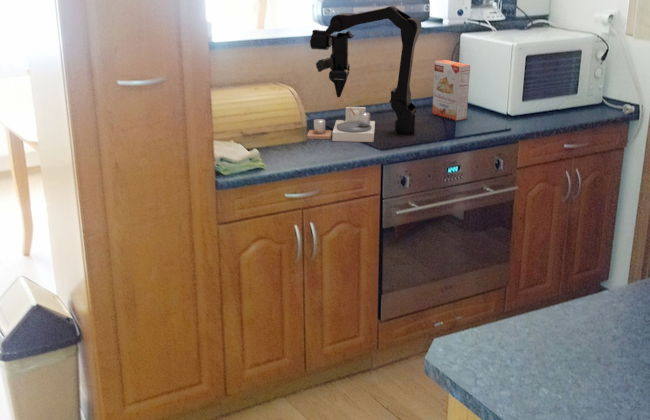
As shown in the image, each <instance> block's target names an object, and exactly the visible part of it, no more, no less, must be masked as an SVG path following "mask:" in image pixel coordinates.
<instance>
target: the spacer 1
mask: <svg viewBox="0 0 650 420" xmlns="http://www.w3.org/2000/svg"><path fill="white" fill-rule="evenodd" d="M313 130H314V134H325V130H326V119H324V118H317V119H314V120H313Z"/></svg>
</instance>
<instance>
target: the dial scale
mask: <svg viewBox="0 0 650 420" xmlns="http://www.w3.org/2000/svg"><path fill="white" fill-rule="evenodd" d="M366 109H367V108H366V107H365V106H346V107H345V120H342V119H336V120H335V124H334V127H333V130H332V135H331V138H332V139H331V141H332V142H354V143H374V141H375V132H376V121H375V120H370V127H367V128H362V127H358V117H359V113H360V112H366Z"/></svg>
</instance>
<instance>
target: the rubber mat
mask: <svg viewBox="0 0 650 420" xmlns="http://www.w3.org/2000/svg"><path fill="white" fill-rule="evenodd" d="M307 132H308V133H307V134H306V139H310V140H311V139H313V140H314V139H316V140H318V139H319V140H323V139H324V140H331V138H332V132H333V130H330V129H328V130H327V129H325V134H314V129H309V130H308V131H307Z"/></svg>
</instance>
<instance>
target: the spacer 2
mask: <svg viewBox="0 0 650 420" xmlns="http://www.w3.org/2000/svg"><path fill="white" fill-rule="evenodd" d="M370 121H371V113H370V112H360V113H359V117H358V127H362V128H367V127H370Z"/></svg>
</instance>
